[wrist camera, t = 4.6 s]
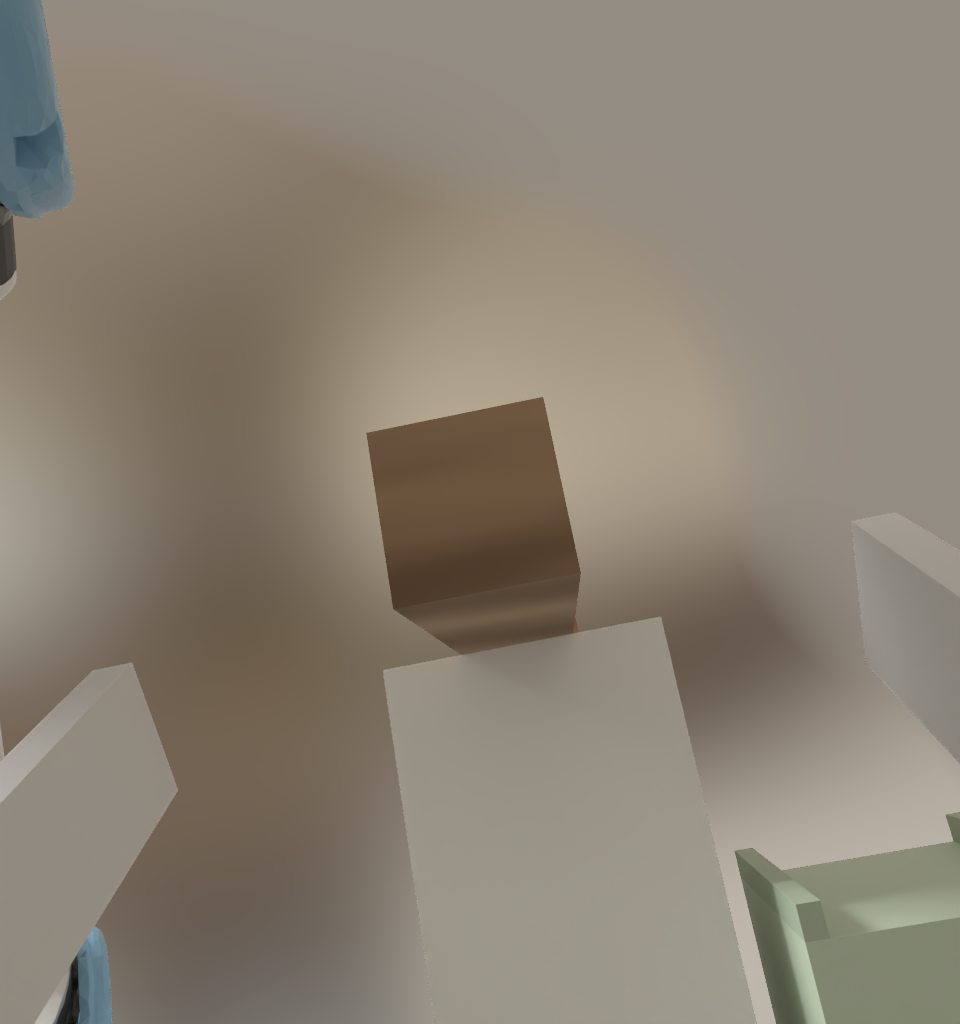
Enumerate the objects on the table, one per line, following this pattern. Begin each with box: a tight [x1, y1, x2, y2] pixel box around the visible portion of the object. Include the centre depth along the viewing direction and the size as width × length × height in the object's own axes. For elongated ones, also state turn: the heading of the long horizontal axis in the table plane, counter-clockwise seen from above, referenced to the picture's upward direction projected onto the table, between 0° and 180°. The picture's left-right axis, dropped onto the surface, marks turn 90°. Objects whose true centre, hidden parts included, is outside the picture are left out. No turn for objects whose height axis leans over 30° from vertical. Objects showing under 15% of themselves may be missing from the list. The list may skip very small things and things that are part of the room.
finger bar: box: [367, 397, 581, 655], centre depth 31 cm, size 26×5×6 cm, turn 174°
